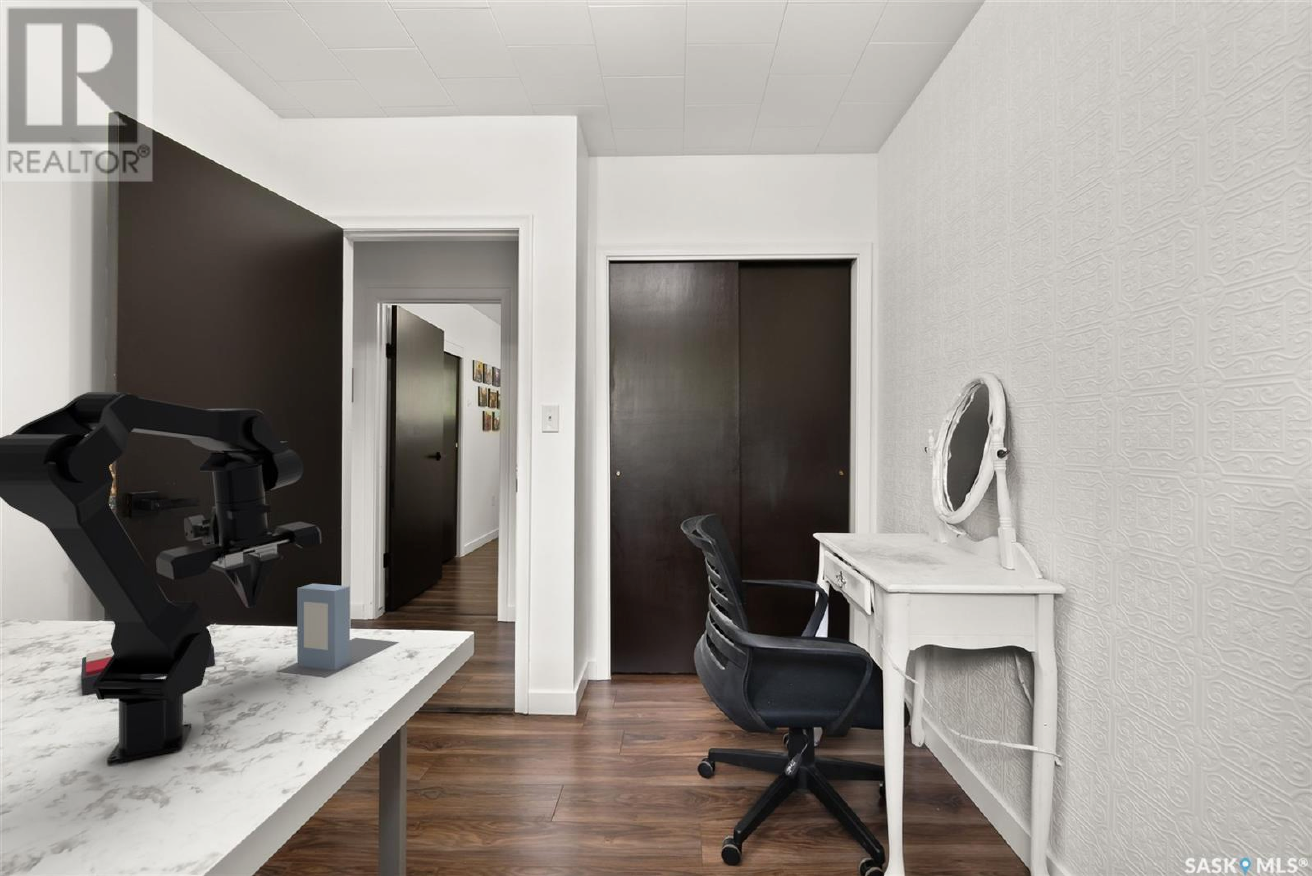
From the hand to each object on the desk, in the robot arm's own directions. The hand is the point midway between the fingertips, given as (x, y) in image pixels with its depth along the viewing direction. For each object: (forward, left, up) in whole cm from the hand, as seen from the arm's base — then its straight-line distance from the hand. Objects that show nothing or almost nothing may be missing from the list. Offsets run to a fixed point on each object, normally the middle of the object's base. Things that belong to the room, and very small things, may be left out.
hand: (250, 606), depth 86 cm
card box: (+4, -9, -11) cm, 15 cm away
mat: (+7, -12, -12) cm, 18 cm away
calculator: (+15, +14, -12) cm, 24 cm away
